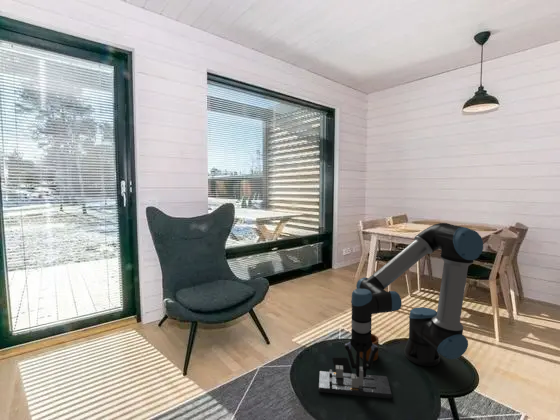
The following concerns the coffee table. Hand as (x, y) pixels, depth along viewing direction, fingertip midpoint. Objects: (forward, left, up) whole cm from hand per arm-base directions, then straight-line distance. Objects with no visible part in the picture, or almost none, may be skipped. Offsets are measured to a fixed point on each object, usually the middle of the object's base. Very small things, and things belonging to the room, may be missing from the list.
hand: (360, 383), depth 122 cm
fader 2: (+2, 0, -1) cm, 3 cm away
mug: (-6, -26, -4) cm, 27 cm away
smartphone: (+7, -13, -4) cm, 15 cm away
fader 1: (+8, -5, -1) cm, 10 cm away
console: (+3, -3, -4) cm, 5 cm away
